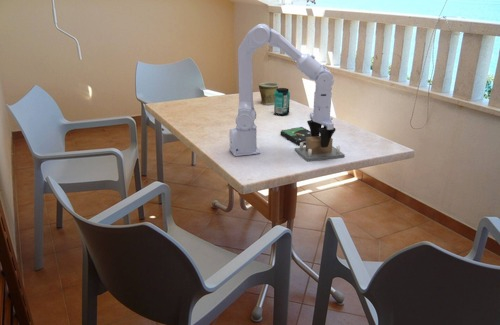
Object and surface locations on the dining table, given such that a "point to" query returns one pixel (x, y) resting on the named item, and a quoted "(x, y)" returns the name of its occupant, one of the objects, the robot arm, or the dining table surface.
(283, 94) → the beverage can
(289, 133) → the disk drive
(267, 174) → the dining table surface
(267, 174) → the dining table surface
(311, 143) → the walnut block
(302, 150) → the standoff plate
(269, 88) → the olive green plant pot
